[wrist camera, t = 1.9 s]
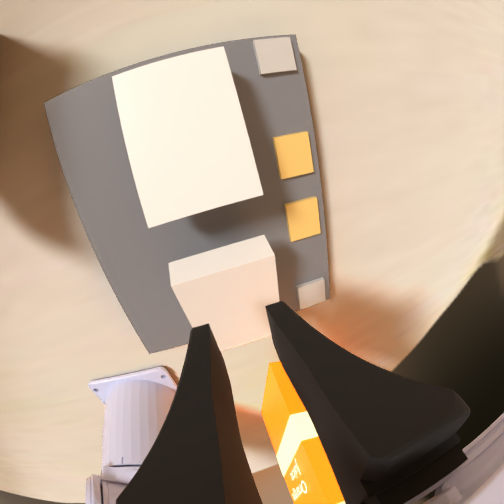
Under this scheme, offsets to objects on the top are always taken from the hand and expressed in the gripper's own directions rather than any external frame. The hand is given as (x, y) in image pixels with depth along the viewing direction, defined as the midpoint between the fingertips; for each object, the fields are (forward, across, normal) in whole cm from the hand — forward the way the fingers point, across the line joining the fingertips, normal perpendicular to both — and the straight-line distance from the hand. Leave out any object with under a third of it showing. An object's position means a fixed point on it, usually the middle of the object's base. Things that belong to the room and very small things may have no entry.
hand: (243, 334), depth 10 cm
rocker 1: (+6, 0, -6) cm, 9 cm away
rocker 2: (+6, 0, +2) cm, 7 cm away
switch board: (+9, 0, -2) cm, 10 cm away
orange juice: (+10, -4, +19) cm, 22 cm away
